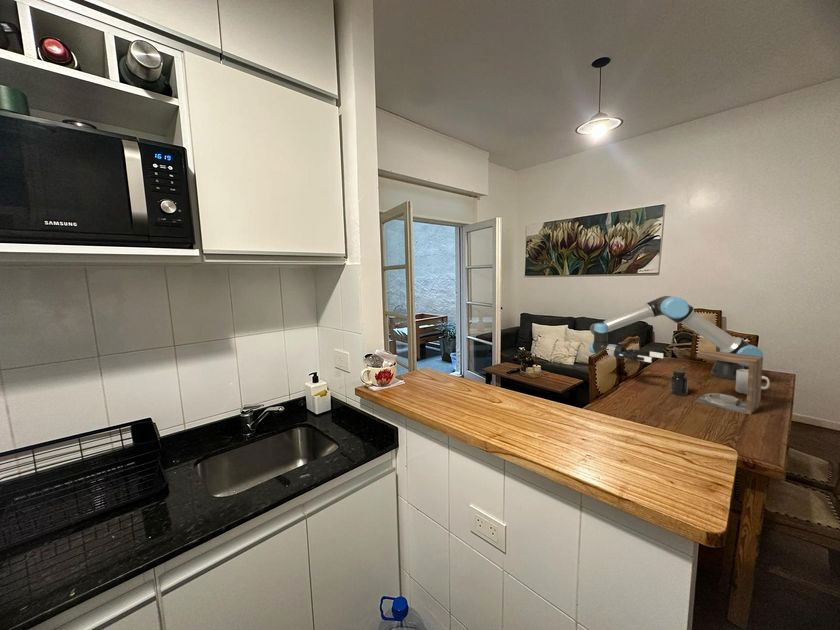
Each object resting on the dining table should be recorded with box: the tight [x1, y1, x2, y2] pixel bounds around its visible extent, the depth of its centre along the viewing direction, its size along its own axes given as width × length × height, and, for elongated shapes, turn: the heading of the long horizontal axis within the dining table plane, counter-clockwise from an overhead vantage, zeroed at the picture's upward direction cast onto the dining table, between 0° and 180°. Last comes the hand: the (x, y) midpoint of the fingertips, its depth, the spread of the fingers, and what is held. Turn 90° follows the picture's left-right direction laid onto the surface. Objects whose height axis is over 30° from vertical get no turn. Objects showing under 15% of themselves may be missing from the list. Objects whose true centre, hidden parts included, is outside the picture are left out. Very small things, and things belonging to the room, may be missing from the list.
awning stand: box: [694, 349, 764, 415], centre depth 152 cm, size 13×20×24 cm, turn 32°
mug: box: [735, 368, 771, 395], centre depth 165 cm, size 12×8×11 cm
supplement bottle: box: [670, 369, 689, 397], centre depth 168 cm, size 7×7×12 cm
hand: (657, 357), depth 175 cm, fingers open, 13 cm apart
